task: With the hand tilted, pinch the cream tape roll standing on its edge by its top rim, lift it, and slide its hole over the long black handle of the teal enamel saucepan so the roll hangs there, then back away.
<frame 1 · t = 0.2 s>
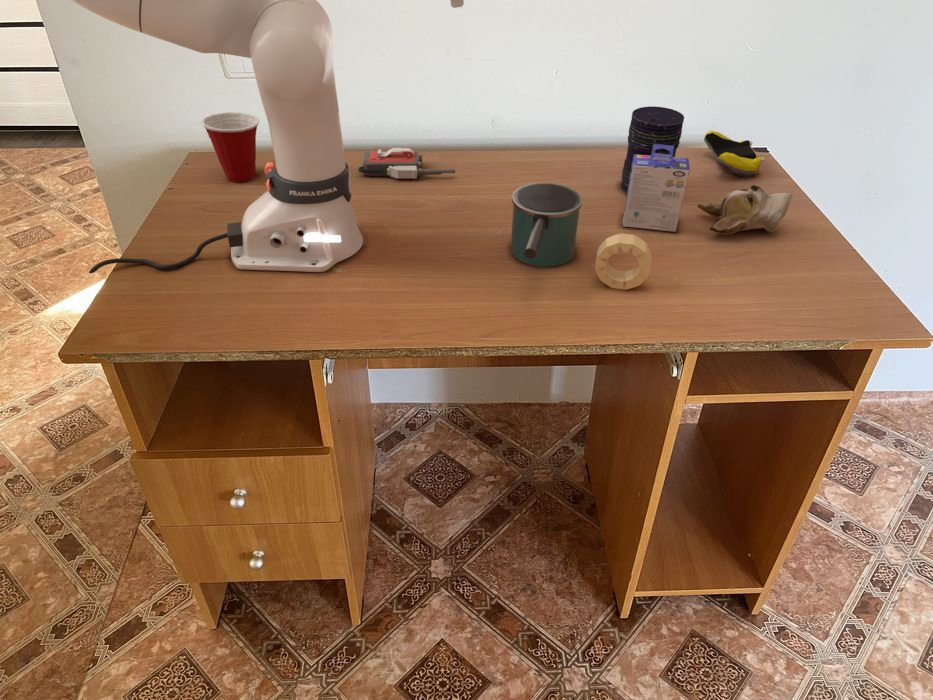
ink cartridge box: (649, 224, 127), on the table
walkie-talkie: (407, 172, 144), on the table
tape roll: (619, 284, 111), on the table
saucepan: (542, 250, 119), on the table
plastic cup: (242, 177, 141), on the table
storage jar: (644, 189, 138), on the table
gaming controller: (729, 167, 147), on the table
ceramic sculpture: (740, 229, 126), on the table
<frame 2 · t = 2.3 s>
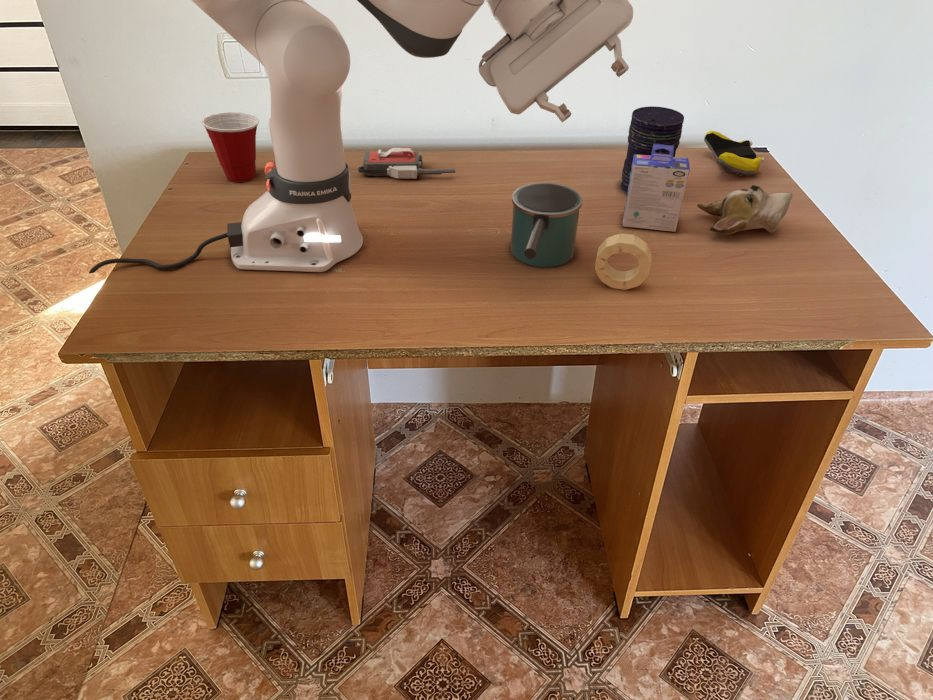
hand: (595, 95, 92), 30 cm above the table, tool tilted 50°, fingers open, 8 cm apart
nothing on the table moved.
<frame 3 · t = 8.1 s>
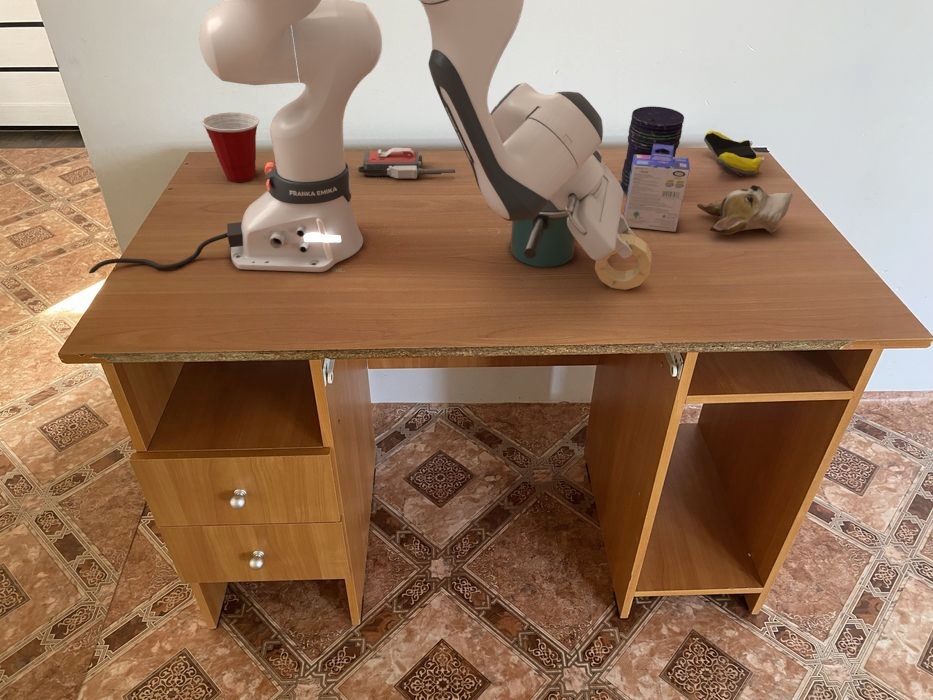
hand: (629, 247, 107), 7 cm above the table, tool tilted 45°, fingers closed on tape roll, 3 cm apart
tape roll: (619, 284, 111), on the table, touching gripper
everything else where it was.
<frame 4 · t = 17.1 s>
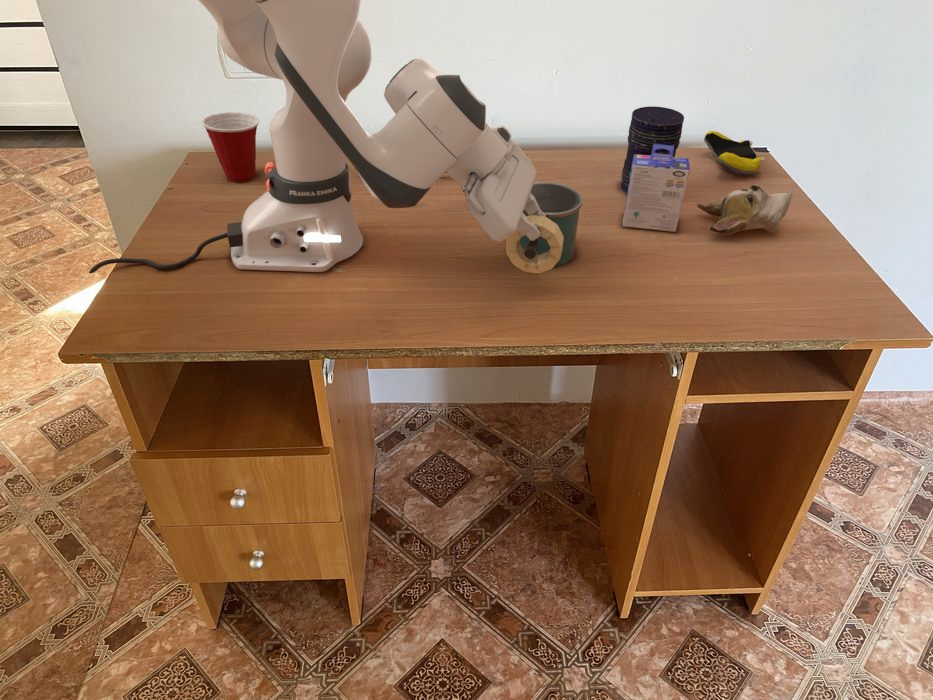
hand: (539, 229, 103), 11 cm above the table, tool tilted 45°, fingers closed on tape roll, 3 cm apart
tape roll: (532, 267, 108), point 4 cm above the table, touching gripper
everything else where it was.
when the fingers open (11 cm above the table, at t = 22.2 s): tape roll drops 2 cm, resting on saucepan.
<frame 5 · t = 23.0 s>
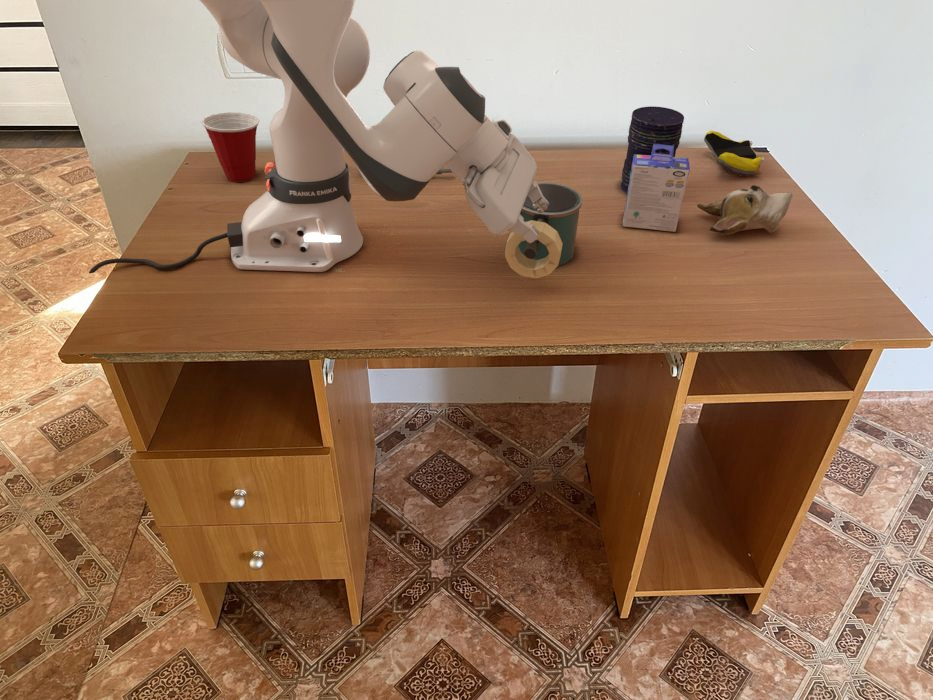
hand: (540, 223, 103), 12 cm above the table, tool tilted 45°, fingers open, 8 cm apart
tape roll: (530, 272, 109), point 3 cm above the table, touching saucepan
everything else where it was.
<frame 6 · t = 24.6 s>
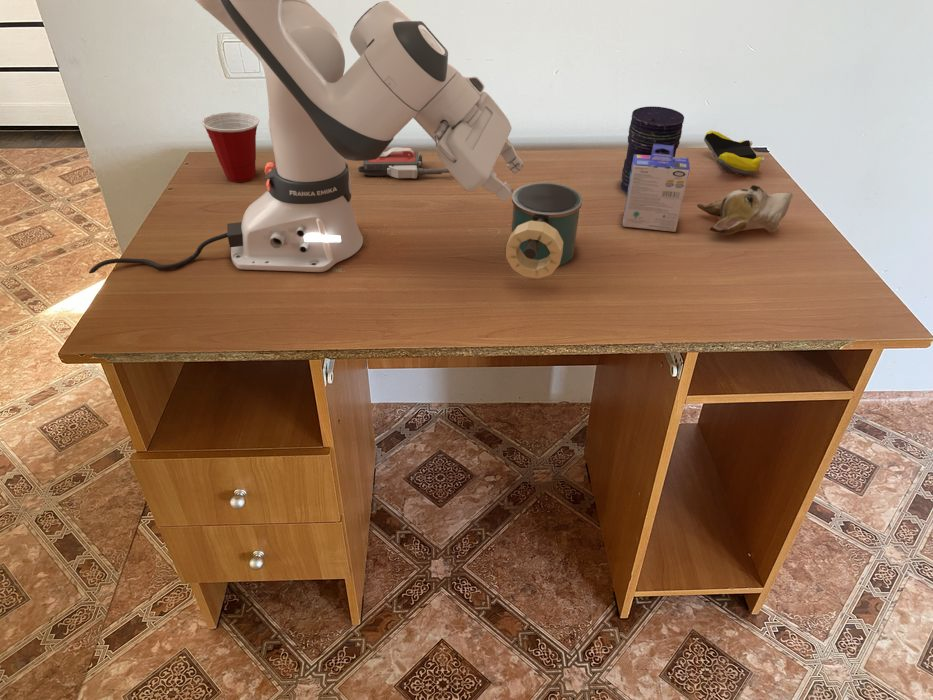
hand: (514, 182, 100), 17 cm above the table, tool tilted 45°, fingers open, 8 cm apart
nothing on the table moved.
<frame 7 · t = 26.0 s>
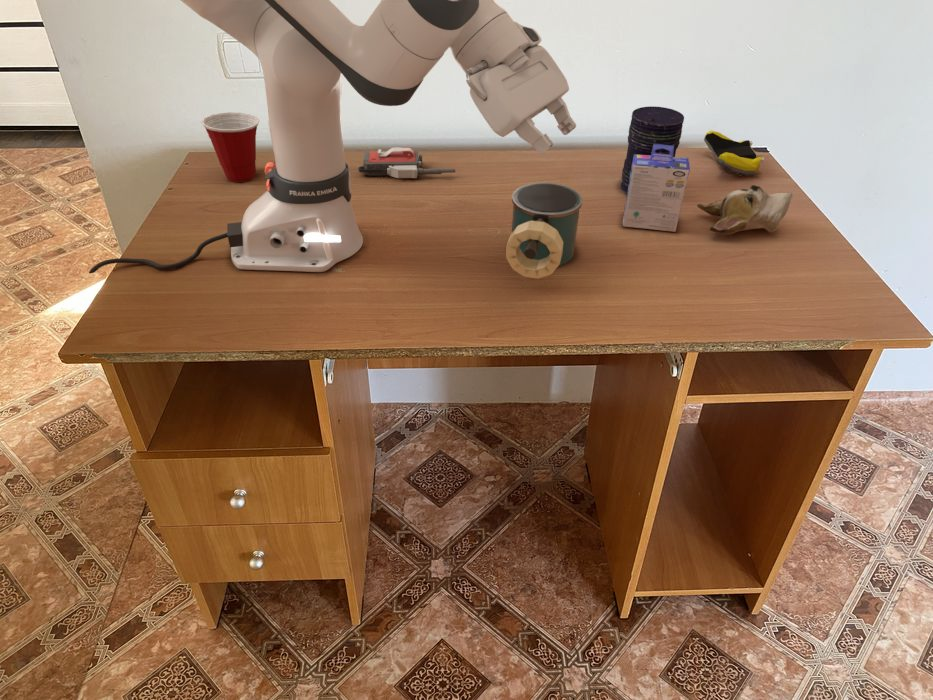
hand: (559, 140, 92), 26 cm above the table, tool tilted 50°, fingers open, 8 cm apart
nothing on the table moved.
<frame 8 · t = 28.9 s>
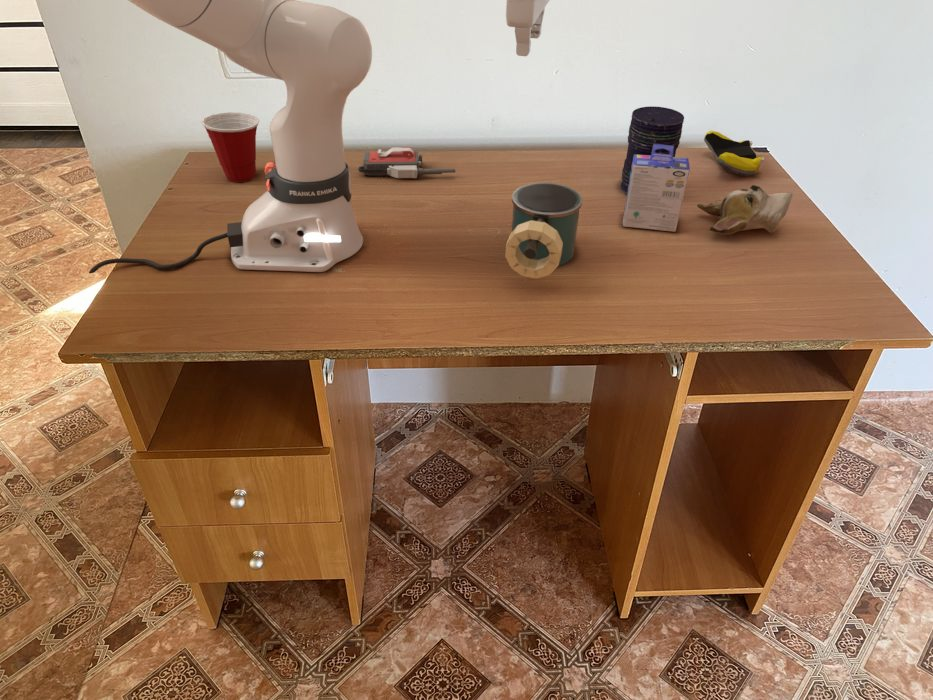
hand: (528, 45, 100), 33 cm above the table, tool pointing down, fingers open, 8 cm apart
nothing on the table moved.
at the end: tape roll inside the target area on the saucepan (0.3 cm from its centre), point 2.7 cm above the saucepan's base; tape roll touching saucepan; the gripper is holding nothing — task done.
